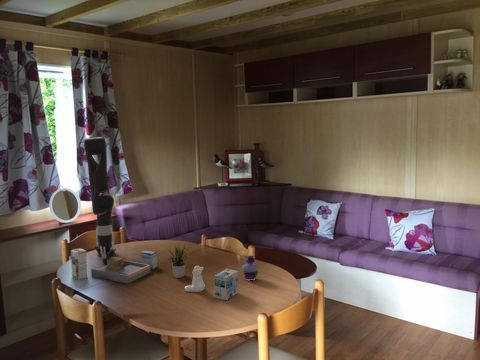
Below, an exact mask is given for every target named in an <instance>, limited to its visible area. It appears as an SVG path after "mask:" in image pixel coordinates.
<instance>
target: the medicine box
mask: <svg viewBox="0 0 480 360" xmlns="http://www.w3.org/2000/svg"><path fill="white" fill-rule="evenodd" d="M157 253H158V252H157V251H152V250H142V251H141V252H140V255H139V256H140V257H139V258H140V263H143V264H149V265H151V270H153V269H156V268H157V267H158V256H157Z"/></svg>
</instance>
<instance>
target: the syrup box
mask: <svg viewBox="0 0 480 360" xmlns="http://www.w3.org/2000/svg"><path fill="white" fill-rule="evenodd" d="M70 260H71V277H72V279H75V280H77V281H78V280H83V279H85V278H88V262H87V260H88V259H87V250H85V249H83V248H75V249H71V250H70Z"/></svg>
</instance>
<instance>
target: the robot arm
mask: <svg viewBox="0 0 480 360" xmlns="http://www.w3.org/2000/svg"><path fill="white" fill-rule="evenodd" d="M83 143H84V144H83V147H84V152H85V157H86V163H87V169H88V170H87V171H88V181H89V186H90V191H91V192H90V193H91V206H92V207H91V209H92V213H93V215H95V216H96V222H95V232H96V233H95V234H96V235H95V236H96V246H95V247H94V248H95V250H96V252H97V254H96V255H97V256H99V257H101V259H102V264H103V266H106V265H107V259H110V258H112V257H113V256H114V254H115V253H116V251H117V249H116V248H115V237H114V236H113V220H112V219H113V217H112V216H113V215H112V212H113V208H114V204H115V200H114V197H113V196H112V195H111V194H108V195H107V194H106V195H100V194H101V193H105V192H107V191H108V190H109V182H108V180H109V179H108V170H107V169H108V158H107V157H108V156H107V155H108V153H107V144H106V143H107V142H106V140H105V138H104V137H103V136H102V137H90V138H89V137H88V138H85V139H84V141H83ZM97 155H98V156H99V155H100V160H99V163H98V162H97V161H96V160H95V159H94V157H93V156H97Z"/></svg>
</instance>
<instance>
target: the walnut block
mask: <svg viewBox="0 0 480 360" xmlns="http://www.w3.org/2000/svg"><path fill="white" fill-rule="evenodd" d="M124 260H125V259H124V258H121V257H116V256H112V257H110V258H109V259H107V269H111V270H116V271H118V270H120V269H123V268H124Z"/></svg>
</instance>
